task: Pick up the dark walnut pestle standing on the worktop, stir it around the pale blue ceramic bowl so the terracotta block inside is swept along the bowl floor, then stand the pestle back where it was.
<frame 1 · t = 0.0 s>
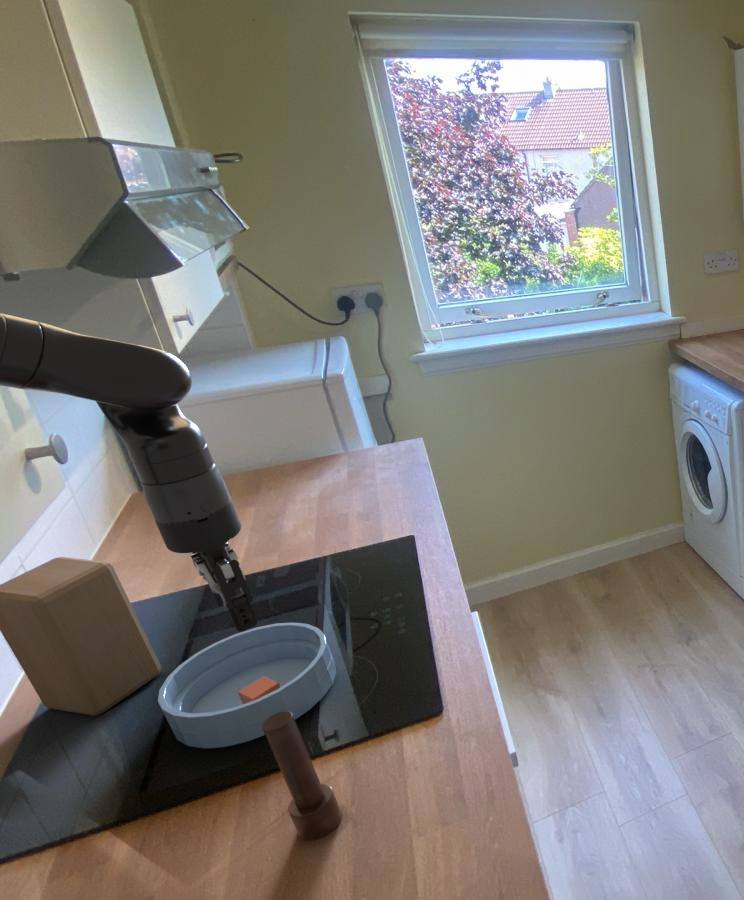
hand: (237, 614, 95), 17 cm above the worktop, tool pointing down, fingers open, 8 cm apart
pestle: (320, 824, 86), on the worktop
block: (266, 706, 103), point 1 cm above the worktop, touching bowl
wooden block: (107, 691, 108), on the worktop
bowl: (259, 698, 105), on the worktop
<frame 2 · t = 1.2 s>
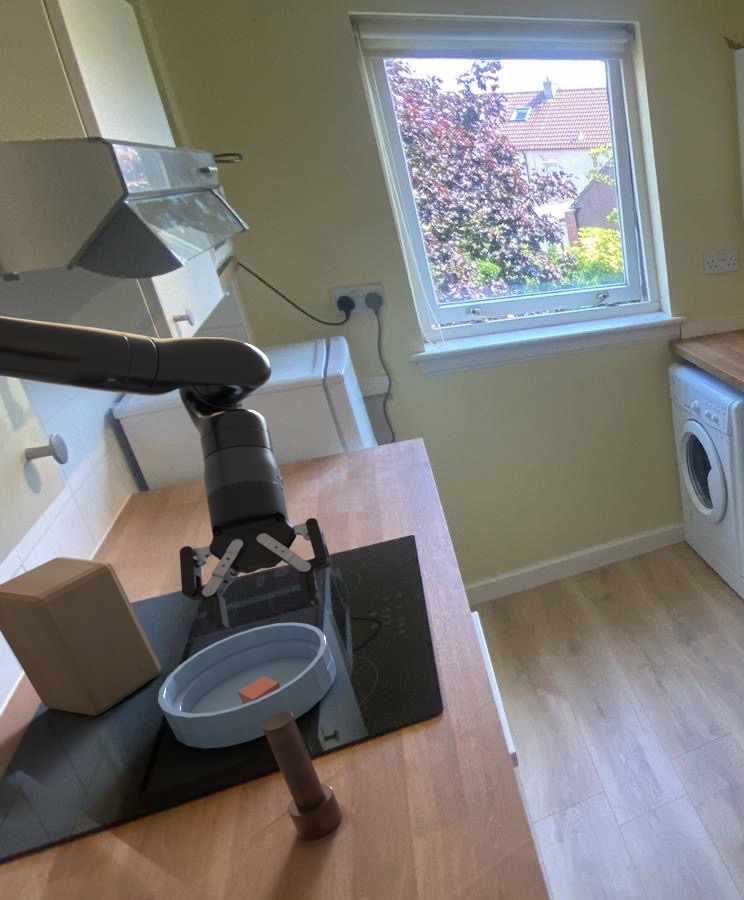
hand: (267, 616, 86), 22 cm above the worktop, tool tilted 45°, fingers open, 8 cm apart
nothing on the worktop moved.
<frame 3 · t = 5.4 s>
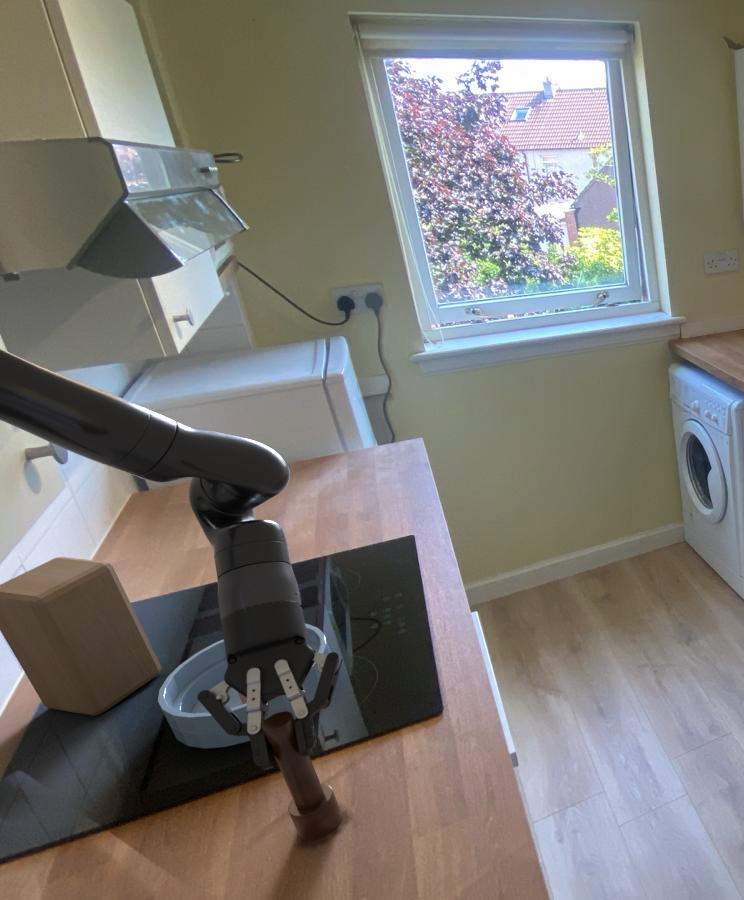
hand: (287, 760, 79), 12 cm above the worktop, tool tilted 45°, fingers closed on pestle, 3 cm apart
pestle: (320, 824, 86), on the worktop, touching gripper
everything else where it was.
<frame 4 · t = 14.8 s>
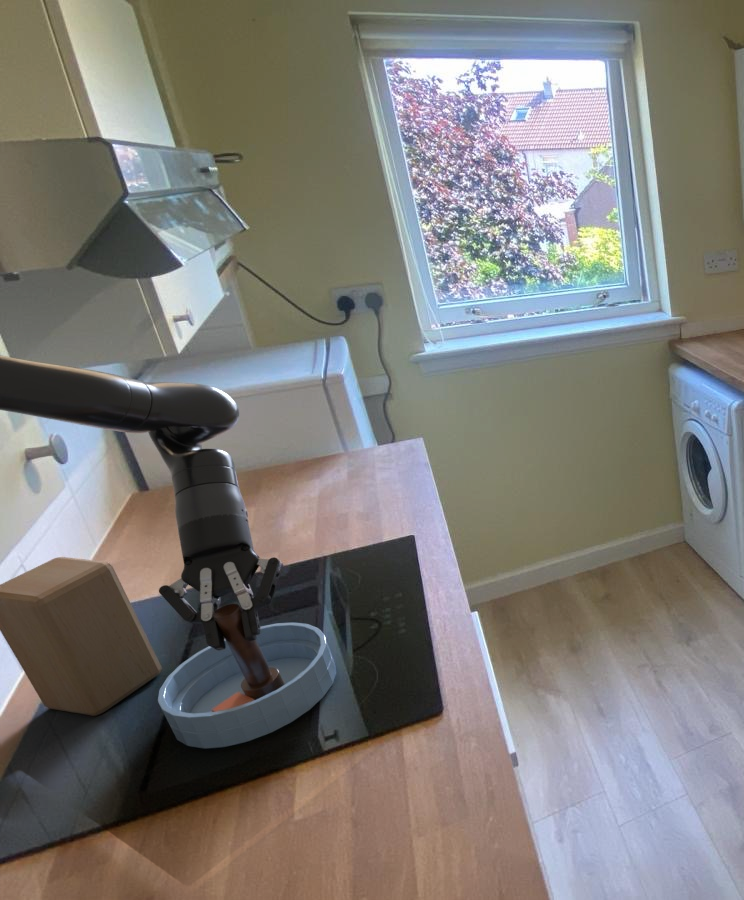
hand: (235, 643, 96), 13 cm above the worktop, tool tilted 45°, fingers closed on pestle, 3 cm apart
pestle: (270, 699, 103), point 1 cm above the worktop, touching block, gripper
block: (242, 723, 100), point 1 cm above the worktop, touching bowl, pestle
everything else where it was.
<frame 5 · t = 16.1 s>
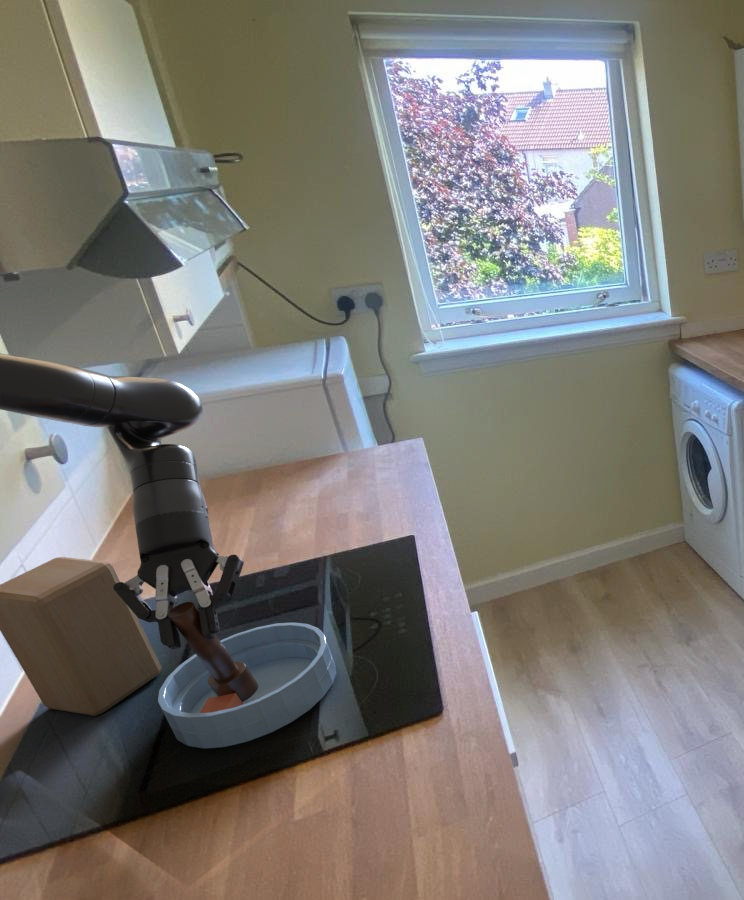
hand: (192, 642, 94), 15 cm above the worktop, tool tilted 45°, fingers closed on pestle, 3 cm apart
pestle: (240, 693, 102), point 3 cm above the worktop, tilted 8°, touching block, gripper
block: (228, 722, 100), point 1 cm above the worktop, tilted 8°, touching bowl, pestle
everything else where it was.
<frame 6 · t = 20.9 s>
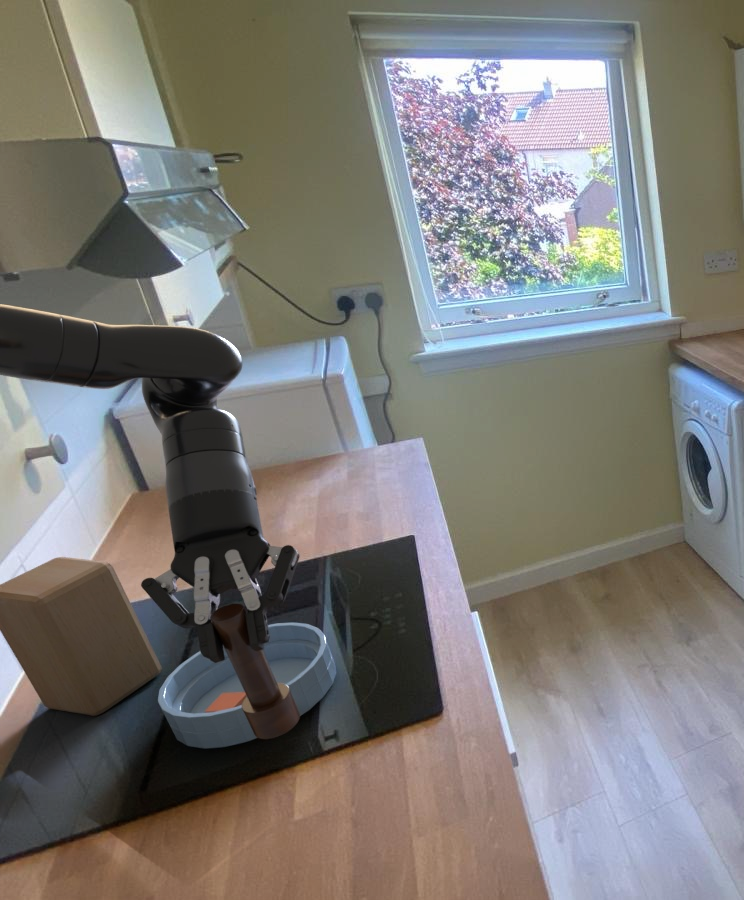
hand: (238, 653, 75), 25 cm above the worktop, tool tilted 45°, fingers closed on pestle, 3 cm apart
pestle: (277, 723, 82), point 13 cm above the worktop, touching gripper
block: (235, 721, 100), point 1 cm above the worktop, touching bowl
everything else where it was.
when the fingers open (12 cm above the worktop, at t = 24.8 s): pestle stays where it is, on the worktop.
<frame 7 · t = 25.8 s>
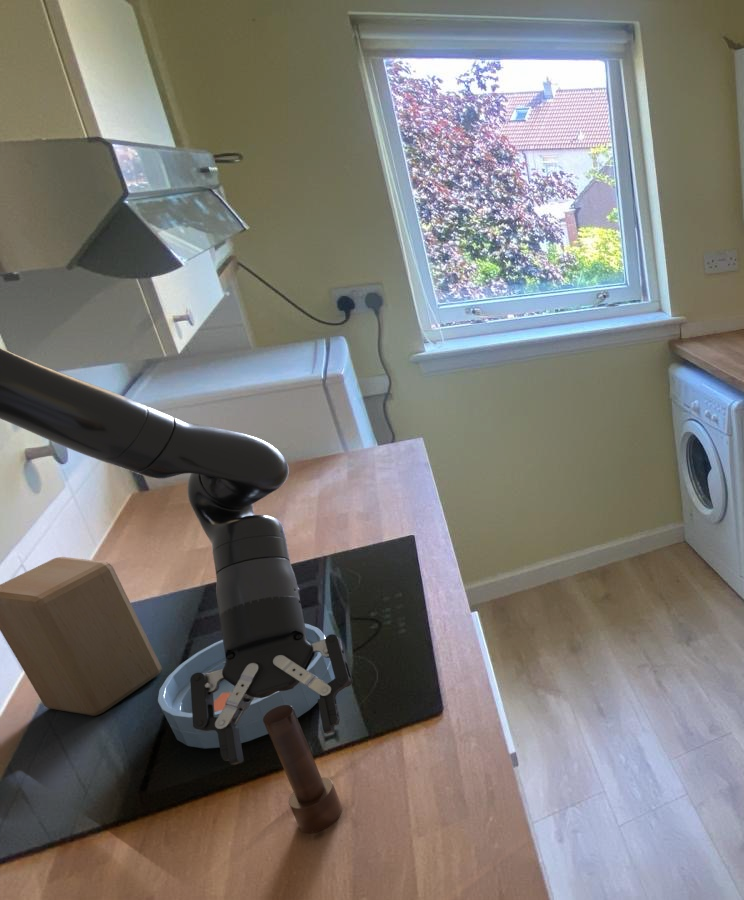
hand: (284, 747, 79), 13 cm above the worktop, tool tilted 45°, fingers open, 8 cm apart
pestle: (321, 816, 87), on the worktop
everything else where it was.
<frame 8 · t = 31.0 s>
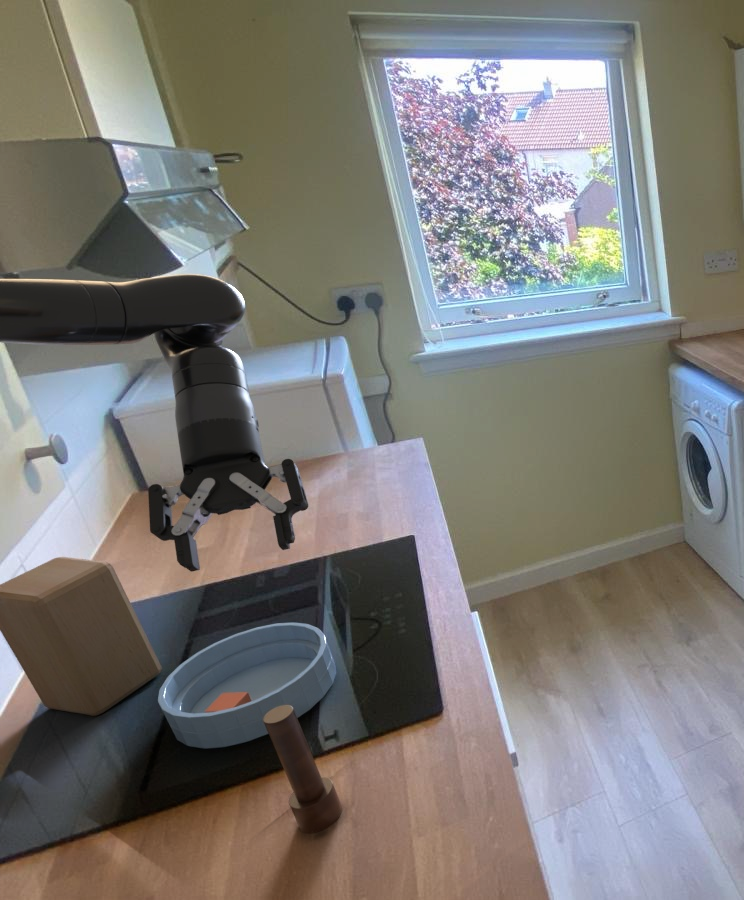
hand: (240, 558, 82), 31 cm above the worktop, tool tilted 45°, fingers open, 8 cm apart
nothing on the worktop moved.
at the end: block moved 3.7 cm from its start; block inside the target area in the bowl (5.0 cm from its centre), point 0.6 cm above the bowl's base; pestle tilted 0° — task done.
